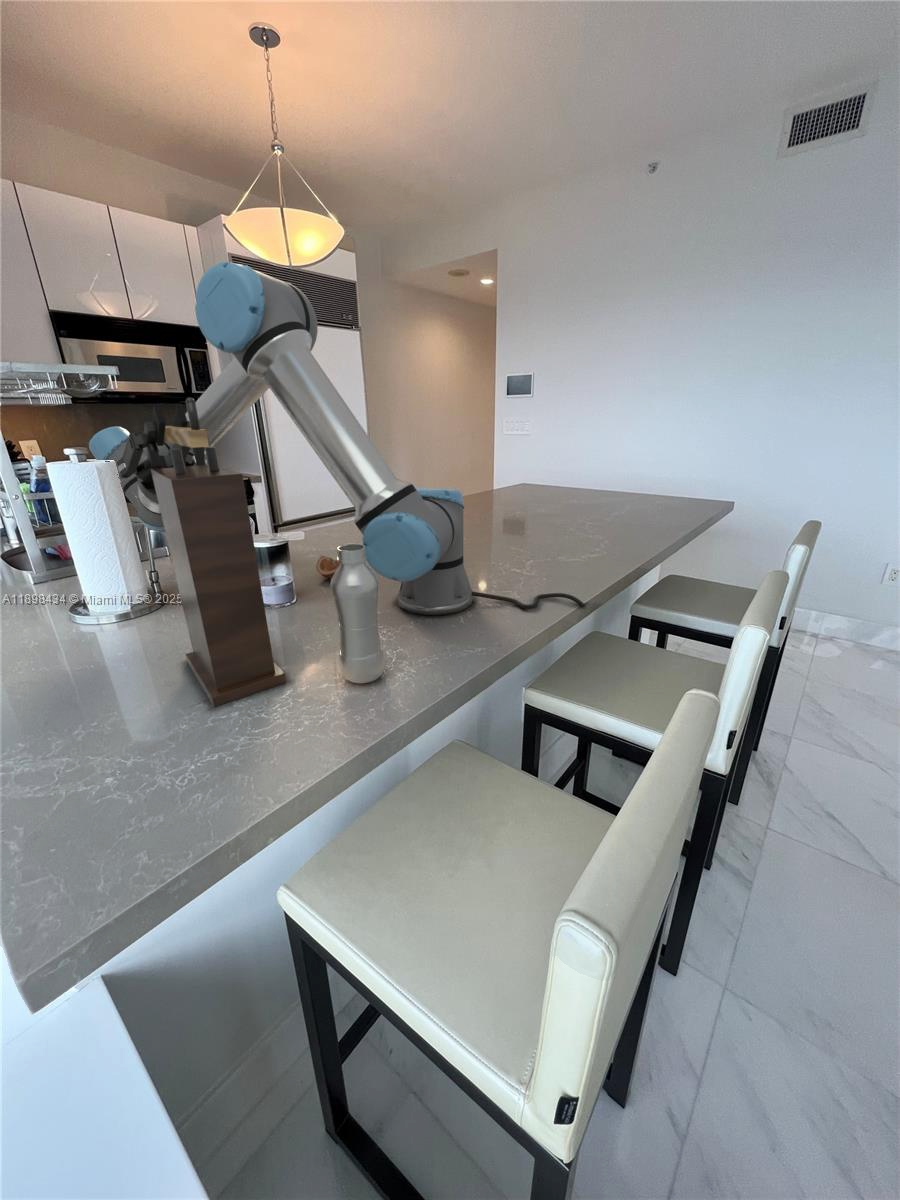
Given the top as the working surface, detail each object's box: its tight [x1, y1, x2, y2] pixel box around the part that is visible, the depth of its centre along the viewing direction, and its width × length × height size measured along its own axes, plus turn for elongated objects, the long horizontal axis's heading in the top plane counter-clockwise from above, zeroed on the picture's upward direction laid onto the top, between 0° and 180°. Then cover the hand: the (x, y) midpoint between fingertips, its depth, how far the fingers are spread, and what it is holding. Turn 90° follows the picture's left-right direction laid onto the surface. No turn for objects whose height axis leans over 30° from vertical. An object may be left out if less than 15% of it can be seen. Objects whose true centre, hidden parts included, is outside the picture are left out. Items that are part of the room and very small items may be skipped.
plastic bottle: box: [329, 543, 386, 684], centre depth 69 cm, size 6×7×20 cm
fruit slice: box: [315, 555, 340, 580], centre depth 114 cm, size 8×7×5 cm
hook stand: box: [151, 446, 287, 708], centre depth 69 cm, size 16×10×33 cm, turn 38°
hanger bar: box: [164, 397, 209, 448], centre depth 65 cm, size 21×2×6 cm, turn 38°
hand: (170, 413), depth 67 cm, fingers closed on hanger bar, 2 cm apart
